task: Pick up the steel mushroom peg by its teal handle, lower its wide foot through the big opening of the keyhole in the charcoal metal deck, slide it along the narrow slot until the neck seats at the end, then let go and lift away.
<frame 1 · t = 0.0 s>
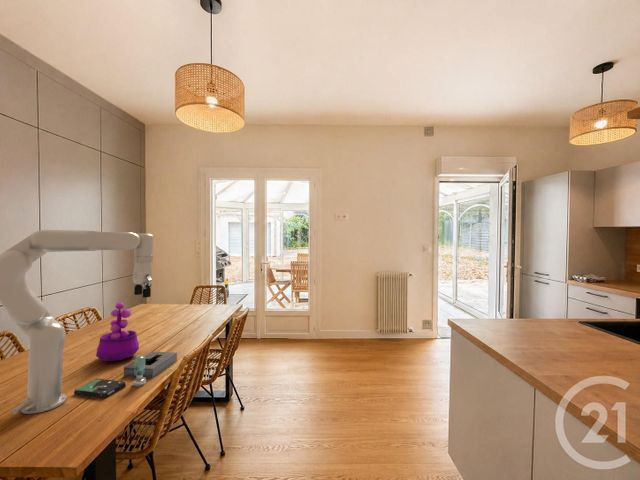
hand: (142, 295, 135), 37 cm above the table, tool pointing down, fingers open, 9 cm apart
peg: (139, 384, 127), on the table
disk drive: (100, 392, 120), on the table
keyhole deck: (151, 367, 143), on the table
decorative plant: (118, 358, 153), on the table
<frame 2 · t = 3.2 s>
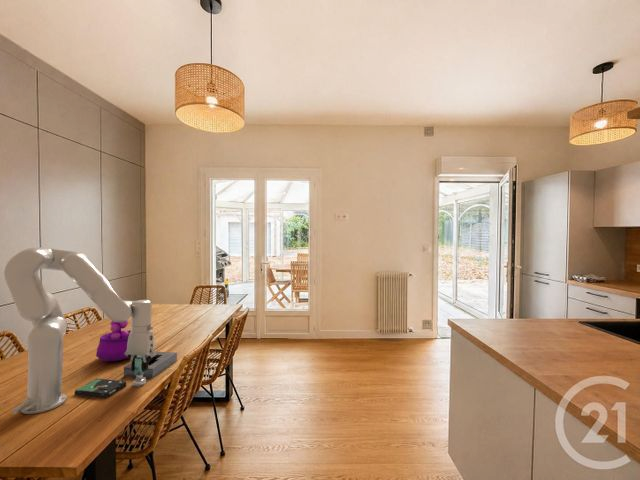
hand: (139, 369, 127), 6 cm above the table, tool pointing down, fingers closed on peg, 4 cm apart
peg: (139, 384, 127), on the table, touching gripper
everything else where it was.
when the fingers open (7 cm above the table, at t = 11.6 s): peg stays where it is, resting in keyhole deck.
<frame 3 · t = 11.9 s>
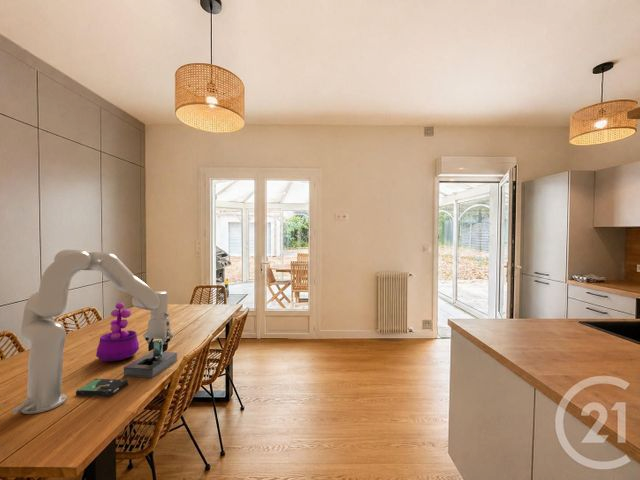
hand: (157, 350, 147), 7 cm above the table, tool pointing down, fingers open, 6 cm apart
peg: (157, 364, 147), resting in keyhole deck
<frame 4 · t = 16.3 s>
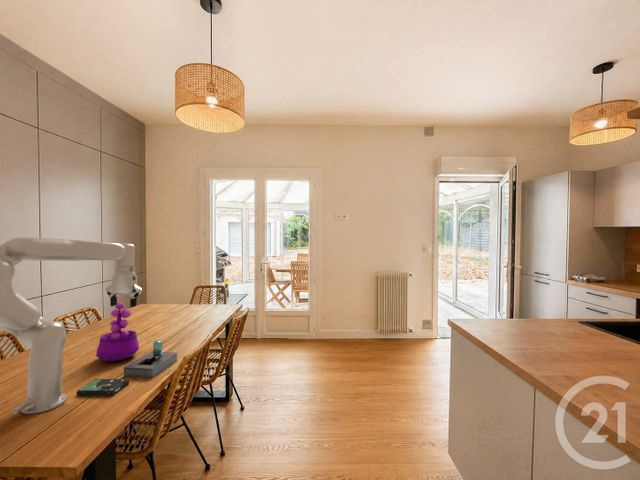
hand: (123, 306, 135), 32 cm above the table, tool pointing down, fingers open, 9 cm apart
at the end: peg 0.1 cm from the target spot on the keyhole deck, point 0.0 cm above the keyhole deck's base; peg tilted 0°; the gripper is holding nothing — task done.
